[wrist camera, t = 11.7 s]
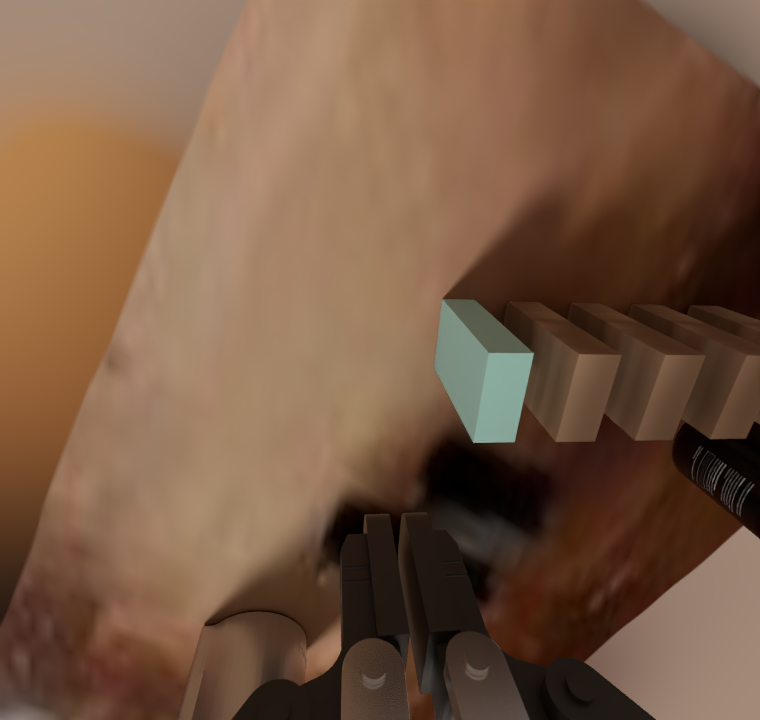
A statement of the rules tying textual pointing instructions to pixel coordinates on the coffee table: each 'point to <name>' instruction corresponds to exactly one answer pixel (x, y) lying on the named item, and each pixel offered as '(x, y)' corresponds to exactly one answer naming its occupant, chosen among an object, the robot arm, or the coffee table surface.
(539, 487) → the coffee table surface
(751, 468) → the supplement bottle
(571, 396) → the domino
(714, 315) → the domino
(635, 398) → the domino
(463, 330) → the domino
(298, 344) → the coffee table surface
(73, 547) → the coffee table surface
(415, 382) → the coffee table surface
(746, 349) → the domino
